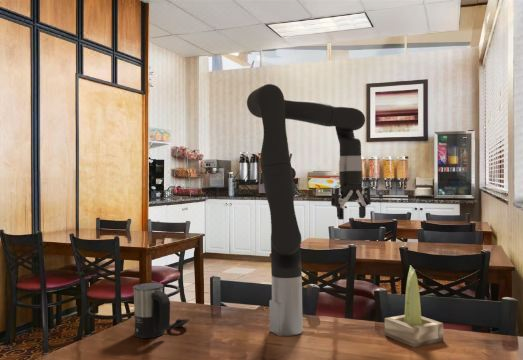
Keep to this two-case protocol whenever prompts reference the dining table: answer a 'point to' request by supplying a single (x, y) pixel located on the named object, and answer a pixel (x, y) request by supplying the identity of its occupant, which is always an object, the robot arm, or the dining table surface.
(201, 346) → the dining table surface
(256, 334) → the dining table surface
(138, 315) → the milk frother
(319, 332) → the dining table surface
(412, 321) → the tube
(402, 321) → the socket block
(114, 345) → the dining table surface
